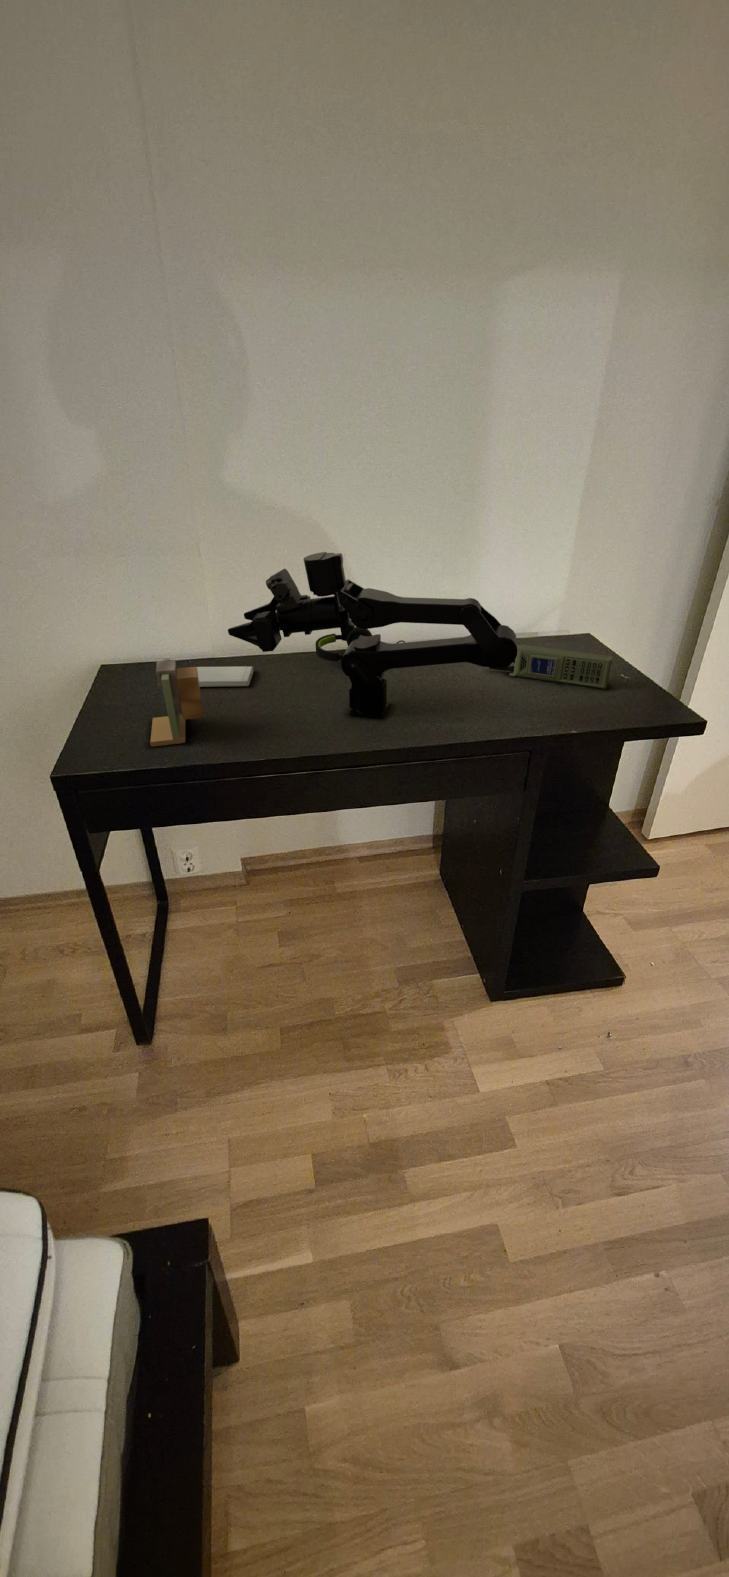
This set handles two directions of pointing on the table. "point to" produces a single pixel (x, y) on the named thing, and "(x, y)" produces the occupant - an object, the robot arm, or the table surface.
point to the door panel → (168, 720)
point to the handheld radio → (561, 666)
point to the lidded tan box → (183, 688)
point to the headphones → (333, 637)
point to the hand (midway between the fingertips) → (236, 623)
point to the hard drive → (224, 676)
